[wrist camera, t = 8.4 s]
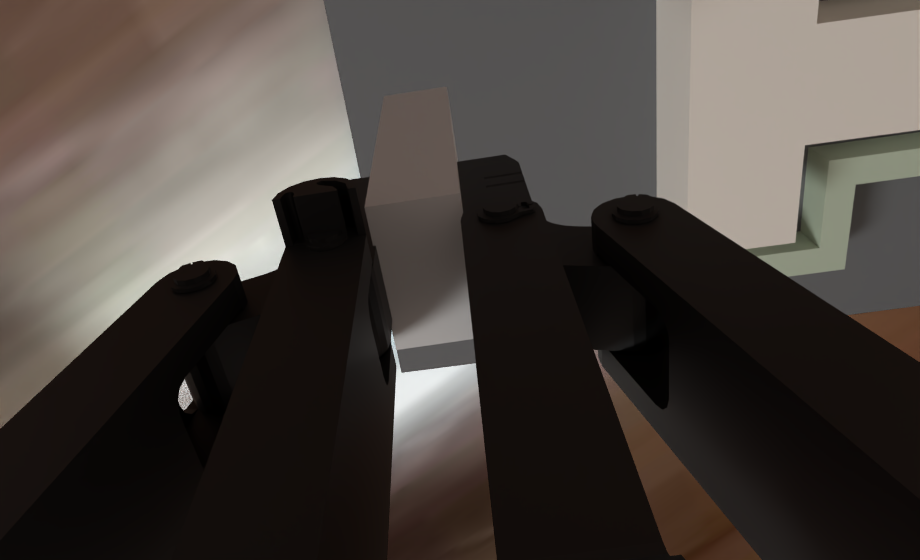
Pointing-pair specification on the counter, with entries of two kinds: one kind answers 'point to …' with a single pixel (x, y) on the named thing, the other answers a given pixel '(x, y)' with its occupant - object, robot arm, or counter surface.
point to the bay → (839, 199)
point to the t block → (773, 99)
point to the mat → (575, 122)
